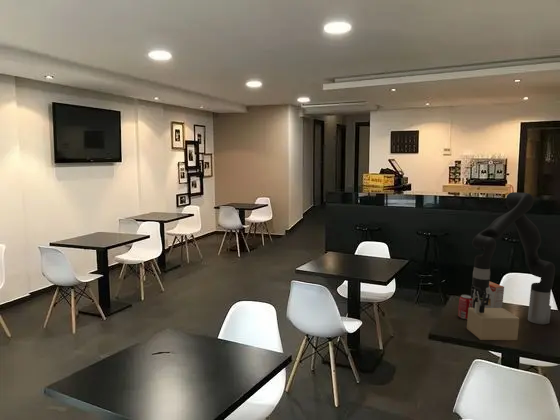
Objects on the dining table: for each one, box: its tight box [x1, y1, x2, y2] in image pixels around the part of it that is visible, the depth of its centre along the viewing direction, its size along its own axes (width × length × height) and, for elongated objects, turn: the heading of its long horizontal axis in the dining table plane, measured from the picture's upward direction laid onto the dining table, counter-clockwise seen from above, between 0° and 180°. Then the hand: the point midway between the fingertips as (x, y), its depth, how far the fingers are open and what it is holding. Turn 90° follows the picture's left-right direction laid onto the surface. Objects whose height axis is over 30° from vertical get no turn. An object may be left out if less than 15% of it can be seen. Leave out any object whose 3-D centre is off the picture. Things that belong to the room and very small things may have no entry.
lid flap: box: [468, 302, 520, 321], centre depth 215 cm, size 18×14×6 cm
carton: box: [466, 309, 520, 341], centre depth 216 cm, size 18×14×10 cm
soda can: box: [457, 294, 473, 320], centre depth 237 cm, size 7×7×12 cm
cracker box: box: [478, 281, 505, 308], centre depth 233 cm, size 14×6×21 cm, turn 17°
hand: (478, 310), depth 215 cm, fingers open, 5 cm apart
